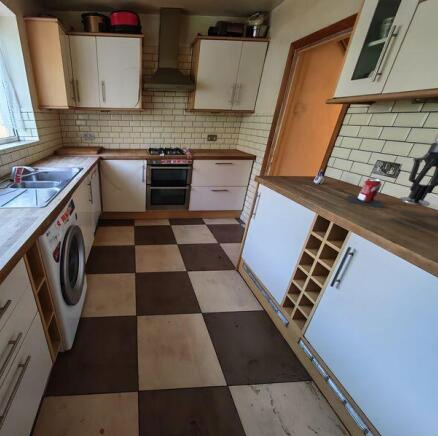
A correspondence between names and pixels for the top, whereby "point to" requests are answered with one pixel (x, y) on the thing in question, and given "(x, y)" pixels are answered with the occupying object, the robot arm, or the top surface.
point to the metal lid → (417, 197)
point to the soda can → (369, 190)
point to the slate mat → (374, 203)
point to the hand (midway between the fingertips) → (415, 198)
